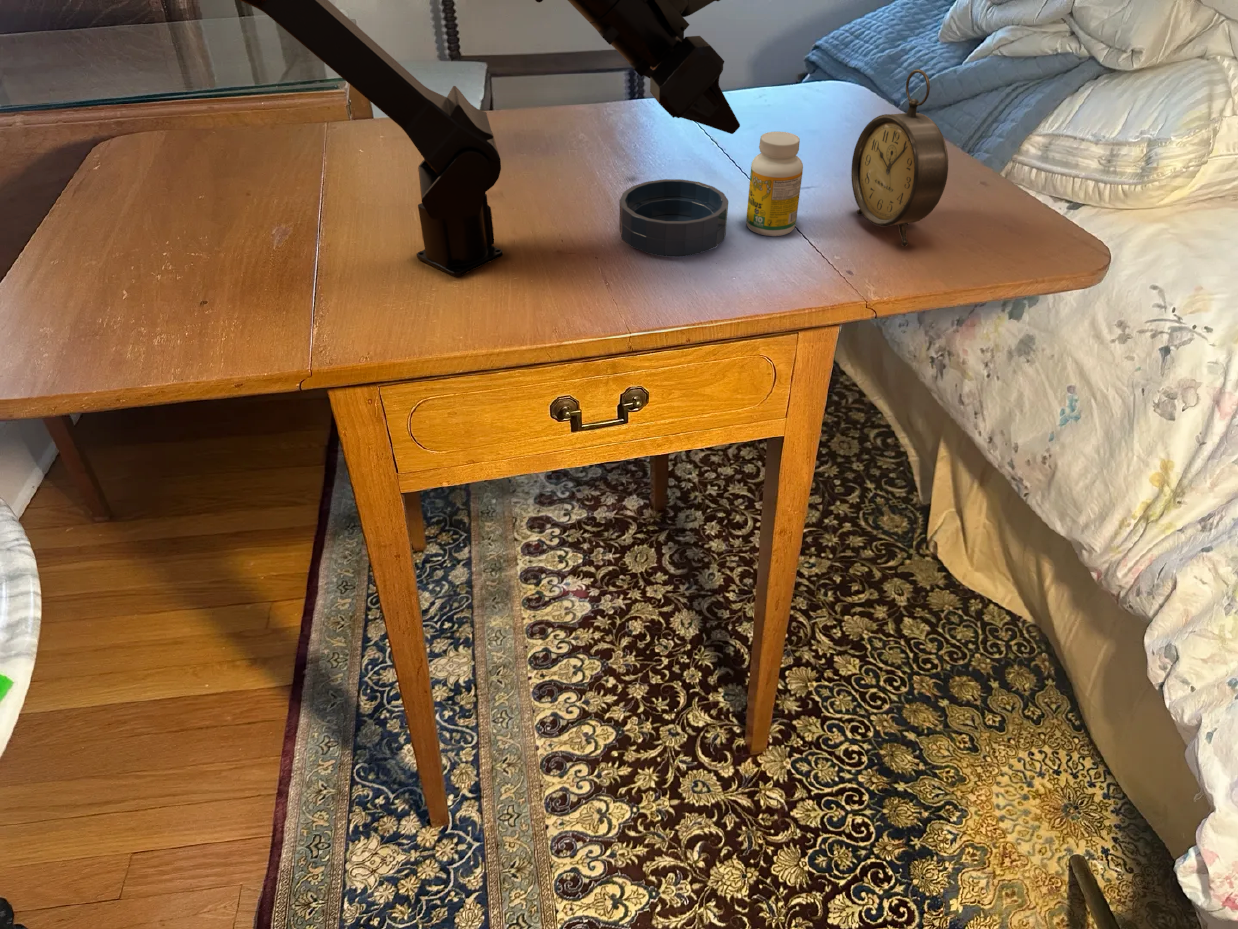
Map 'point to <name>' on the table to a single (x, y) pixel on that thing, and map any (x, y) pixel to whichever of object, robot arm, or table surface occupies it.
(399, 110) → the robot arm
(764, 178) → the supplement bottle
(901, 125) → the alarm clock
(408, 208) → the table surface
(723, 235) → the dark gray round dish
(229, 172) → the table surface
